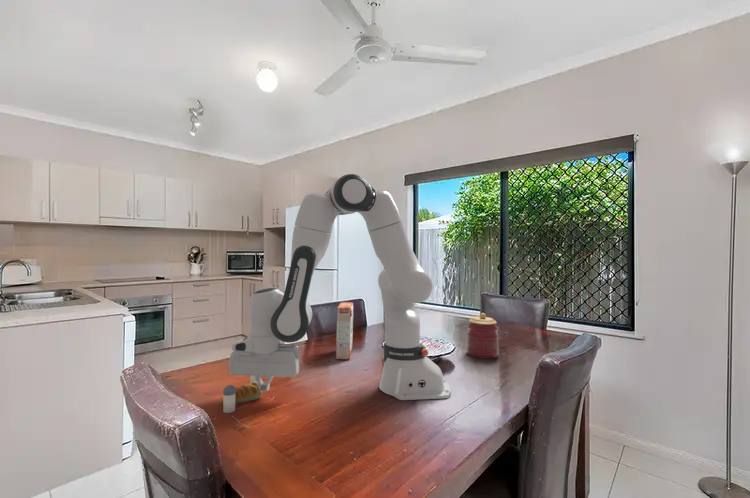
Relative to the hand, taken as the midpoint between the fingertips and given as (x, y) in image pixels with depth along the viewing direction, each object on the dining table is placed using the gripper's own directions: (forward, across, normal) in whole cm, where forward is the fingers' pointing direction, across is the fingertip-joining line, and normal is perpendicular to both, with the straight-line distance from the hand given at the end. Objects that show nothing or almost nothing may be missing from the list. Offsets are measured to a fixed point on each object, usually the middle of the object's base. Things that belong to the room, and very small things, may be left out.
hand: (264, 389), depth 105 cm
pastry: (+3, +5, +1) cm, 6 cm away
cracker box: (+2, -18, -44) cm, 48 cm away
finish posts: (+2, +6, 0) cm, 7 cm away
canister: (+2, -76, -51) cm, 91 cm away
